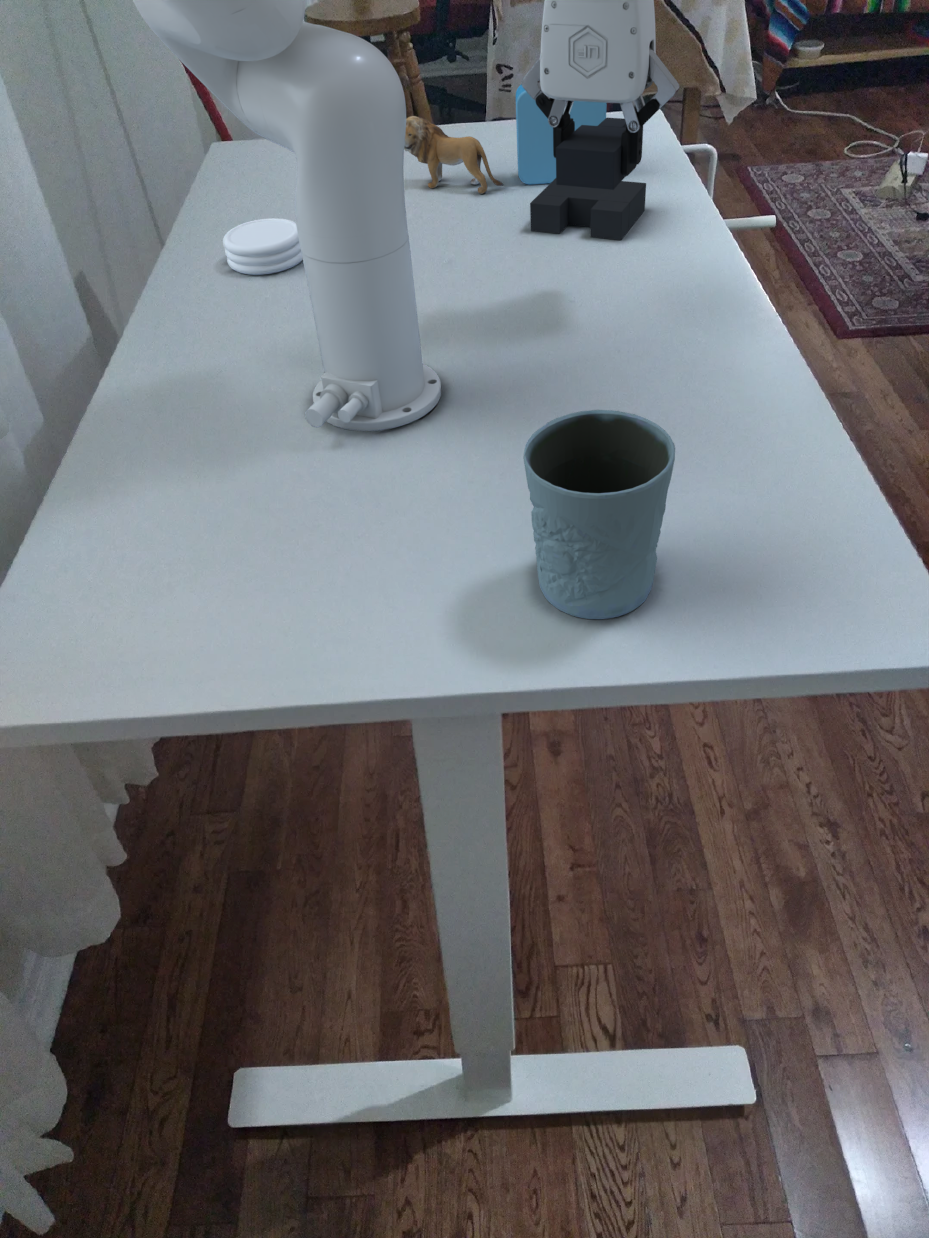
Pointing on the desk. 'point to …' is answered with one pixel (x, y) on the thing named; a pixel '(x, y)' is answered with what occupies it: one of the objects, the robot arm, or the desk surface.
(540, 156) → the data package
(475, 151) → the lion figurine
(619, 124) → the pad
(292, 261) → the coaster
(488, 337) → the desk surface
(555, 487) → the embossed blue-grey cup
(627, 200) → the notch pad
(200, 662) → the desk surface
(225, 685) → the desk surface
